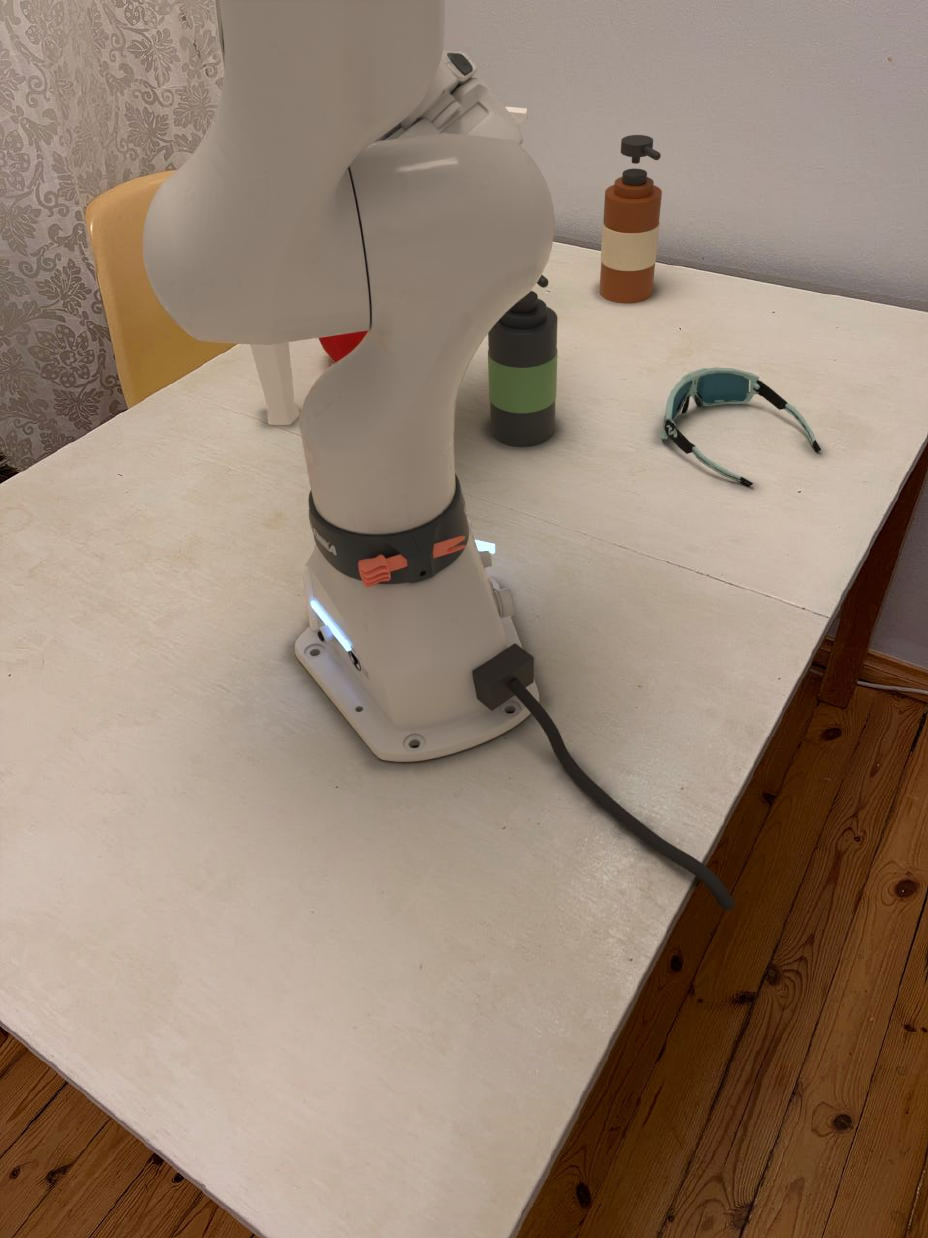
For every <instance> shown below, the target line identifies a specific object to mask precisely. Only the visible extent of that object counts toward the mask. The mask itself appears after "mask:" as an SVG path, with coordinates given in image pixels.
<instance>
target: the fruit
mask: <svg viewBox="0 0 928 1238" xmlns="http://www.w3.org/2000/svg"><path fill="white" fill-rule="evenodd" d="M368 331H369V330H368ZM368 331H361V332H354V333H347V334H341V335H334V336H327V337H320V338H318V341H319V343H320V345H321V347H322V349H323V350H324V351H325V353H326V354H327V355H328V356H329V358H330V359H331V360H332V361H333V362H334V363H336V362H338V361H339V360H341V359H342V358H344V357H345V356H346V355H348V354H349V353H350V352H351V351H353V350H354V349H355V348H356V347H357V346H358V345H359V343H360V342H361V341H362V340H363V338H364V337H365V335H366V334H367V332H368Z"/></svg>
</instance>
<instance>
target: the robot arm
mask: <svg viewBox="0 0 928 1238" xmlns="http://www.w3.org/2000/svg"><path fill="white" fill-rule="evenodd" d="M445 6H446V0H219V8H220V16H221V42H222V43H221V45H222V50H223V57H224V71H223V72H224V74H223V81H222V87H221V92H220V97H219V100H218V104H217V107H216V110H215V112H214V115H213V118H212V121H211V123H210V125H209V127H208V129H207V130H206V132H205V134H204V136H203V137H202V140H201V141H200V143H199V144H198V145H197V147H196V148H195V150H194V151H193V153H192V154H191V155H190V156H189V157H188V159H187V160H186V161H185V162H184V163H183V164H182V165H181V166H180V167H179V168H178V169H177V170H176V171H175V172H174V173H172V175H170V176H169V177H167V178H166V179H165V180H164V181H163V182H162V183H161V184H160V186H159V187H158V189H157V190H156V191H155V194H154V196H153V198H152V200H151V202H150V204H149V207H148V209H147V212H146V215H145V219H144V223H143V224H144V225H143V230H142V256H143V263H144V268H145V273H146V276H147V279H148V281H149V284H150V287H151V289H152V292H153V294H154V295H155V297H156V299H157V301H158V302H159V304H160V306H161V307H162V309H163V310H164V311H165V313H166V314H167V315H168V317H169V318H170V319H171V320H172V322H174V323H175V324H176V325H177V326H178V327H179V328H180V329H182V330H183V332H185V333H186V334H188V335H189V336H190V337H192V338H193V339H195V340H196V341H198V342H204V343H205V342H206V343H220V344H232V345H233V344H234V345H235V344H236V345H250V344H259V345H273V344H280V343H287V342H289V343H291V342H292V343H293V342H300V341H306V340H307V341H308V340H313V339H319V338H320V337H327V336H334V335H341V334H347V333H354V332H361V331H368V330H369V331H368V332H367V334H366V335H365V337H364V338H363V340H362V341H361V342H360V343H359V345H358V346H357V347H356V348H355V349H354V350H353V351H351V352H350V353H349V354H348V355H346V356H345V357H344V358H342V359H341V360H339V361H338V362H334V363H333V364H332V365H330V366H329V367H328V368H327V369H326V370H324V372H322V373H321V374H320V375H319V377H318V378H317V379H316V380H315V382H314V383H313V385H312V386H311V388H310V389H309V391H308V393H307V395H306V396H305V398H304V400H303V403H302V406H301V409H300V416H299V424H298V425H299V431H300V437H301V443H302V448H303V453H304V458H305V464H306V469H307V474H308V480H309V486H310V490H309V493H308V521H309V524H310V529H311V531H312V535H313V539H314V543H315V545H314V548H313V550H312V552H311V554H310V556H309V558H308V560H307V561H306V563H305V564H304V567H303V569H302V570H301V575H302V582H303V590H304V597H305V604H306V610H307V615H308V616H307V617H308V624H309V626H308V627H307V628H306V629H305V630H304V631H303V632H301V634H300V635H299V636H298V637H297V639H296V640H295V643H294V654H295V656H296V659H298V661H299V662H300V663H301V665H302V666H303V667H304V668H305V670H306V671H307V672H308V674H309V675H310V676H311V677H312V678H313V680H314V681H315V683H316V684H317V685H318V686H319V687H320V688H321V690H322V691H323V692H324V693H325V694H326V696H327V698H328V699H329V700H330V701H331V702H332V703H333V705H334V706H335V707H336V708H337V709H338V711H339V712H340V713H341V715H342V716H343V717H344V718H345V720H346V721H347V722H348V724H349V725H350V726H351V727H352V728H353V729H354V731H355V733H357V735H358V737H360V738H361V740H362V741H363V742H364V743H365V744H366V746H367V747H368V748H369V750H370V751H371V752H372V753H373V754H374V755H375V756H376V757H377V758H378V759H380V760H381V761H385V762H386V761H387V762H399V763H404V762H405V763H408V762H409V763H410V762H420V761H427V760H432V759H439V758H442V757H445V756H449V755H454V754H456V753H459V752H462V751H465V750H468V749H471V748H474V747H476V746H479V745H480V744H483V743H486V742H489V741H491V740H493V739H495V738H497V737H499V736H502V735H503V734H504V733H507V732H509V731H510V730H512V729H513V728H515V727H517V726H518V725H519V724H521V723H522V722H523V721H524V720H525V719H527V718H528V717H529V716H530V715H532V717H533V718H534V719H535V720H536V722H537V723H538V724H539V726H540V727H541V729H542V730H543V732H544V733H545V735H546V737H547V739H548V741H549V744H550V746H551V749H552V751H553V752H554V756H555V757H556V758H557V760H558V762H559V763H560V765H561V766H562V767H563V769H564V771H566V773H567V774H568V775H569V776H570V778H571V779H572V780H573V781H574V782H575V784H576V785H578V787H580V788H581V789H582V790H583V791H584V792H585V793H586V794H587V795H588V796H589V797H590V798H591V799H592V800H593V801H595V803H597V804H598V806H600V807H601V808H602V809H603V810H605V811H606V812H607V813H608V814H609V815H610V816H611V817H613V818H614V820H616V821H617V822H618V823H619V824H621V825H622V826H623V827H625V828H626V829H627V830H628V831H629V832H631V833H633V835H635V836H636V837H637V838H638V839H639V840H641V841H642V842H643V843H644V844H646V845H647V846H649V848H651V849H652V850H654V851H655V852H657V854H659V855H661V856H662V857H664V858H666V859H668V860H669V861H671V862H673V863H674V864H676V865H677V866H679V867H681V868H682V869H685V870H686V871H687V872H689V873H691V874H692V875H693V876H694V877H696V878H697V879H698V880H699V881H700V882H702V883H703V884H704V885H705V887H706V888H707V889H708V890H709V892H710V893H711V894H712V896H713V897H714V898H715V901H716V903H717V904H718V905H719V906H720V907H721V908H722V909H723V910H725V911H726V910H727V911H732V910H734V908H735V902H734V900H733V898H732V896H731V894H730V892H729V891H728V889H727V888H726V886H725V885H724V883H723V882H722V881H721V879H719V877H718V876H717V875H716V874H715V873H714V872H713V871H712V870H711V869H710V868H709V867H707V866H706V865H705V864H704V863H703V862H702V861H699V860H698V859H697V858H695V857H694V856H692V855H690V854H688V853H687V852H685V851H683V850H682V849H680V848H678V847H676V846H675V845H673V844H671V843H669V842H668V841H667V840H665V839H664V838H662V837H661V836H660V835H658V834H657V833H656V832H654V831H653V830H652V829H651V828H650V827H648V826H647V825H645V824H644V823H643V822H641V820H639V819H638V818H636V817H635V816H634V815H633V814H631V813H630V812H628V811H627V809H625V808H624V807H623V806H622V805H620V804H619V803H618V802H617V801H616V800H614V798H613V797H612V796H610V795H609V794H608V793H607V792H606V791H605V790H603V789H602V788H601V787H600V786H599V785H598V784H597V783H596V782H595V781H594V780H593V779H591V777H589V776H588V775H587V773H586V772H585V771H584V770H583V769H582V768H581V767H580V765H579V764H578V763H577V762H576V761H575V759H574V758H573V756H572V754H571V753H570V752H569V750H568V748H567V746H566V744H565V742H564V739H563V738H562V735H561V733H560V730H559V729H558V727H557V725H556V723H555V722H554V720H553V718H552V717H551V716H550V715H549V713H548V712H547V711H546V710H545V708H544V707H543V706H542V705H541V703H540V694H539V690H538V687H537V683H536V681H535V678H534V677H535V657H534V656H533V655H532V654H531V653H529V652H528V651H526V650H525V649H524V648H523V645H522V643H521V641H520V638H519V635H518V633H517V630H516V626H515V624H514V621H513V618H512V617H513V616H515V614H516V606H515V600H514V597H513V593H512V591H511V589H510V588H507V587H506V588H501V587H500V584H499V583H498V581H497V580H495V579H493V578H491V577H488V575H487V572H486V570H485V569H487V568H491V567H492V565H493V560H492V554H495V553H496V543H491V542H487V541H483V540H479V539H475V535H474V533H473V521H472V519H471V518H468V513H467V512H468V511H467V505H466V500H465V497H464V493H463V491H462V487H461V483H460V480H459V477H458V476H457V473H456V467H455V466H456V465H455V429H456V428H455V425H456V408H457V401H458V396H459V393H460V389H461V386H462V383H463V379H464V377H465V374H466V372H467V371H468V368H469V366H470V364H471V361H472V360H473V358H474V357H475V354H476V352H477V351H478V349H479V348H480V346H481V345H482V343H483V342H484V340H485V338H486V337H487V336H488V333H489V331H490V330H491V329H492V327H493V326H494V325H495V324H496V323H497V321H498V320H499V319H500V318H501V317H502V316H503V315H504V314H505V313H506V312H507V311H508V310H509V309H510V308H511V307H512V306H514V305H515V304H516V303H517V302H518V301H519V300H521V299H522V298H523V297H524V296H526V295H527V294H528V293H529V292H530V291H532V290H533V289H534V288H535V286H536V285H537V282H538V280H539V278H540V277H541V275H543V274H544V271H545V269H546V267H547V264H548V262H549V259H550V255H551V252H552V249H553V243H554V237H555V211H554V205H553V199H552V194H551V191H550V189H549V186H548V183H547V180H546V179H545V177H544V175H543V173H542V171H541V169H540V167H539V166H538V164H537V163H536V162H535V160H534V159H533V158H532V156H531V155H530V154H529V152H527V150H525V149H524V148H523V147H522V146H521V145H522V144H523V143H524V137H523V134H522V131H521V128H520V125H519V123H516V121H515V120H514V118H513V117H512V116H511V114H510V113H509V112H508V110H507V109H506V108H505V107H506V106H505V105H504V104H503V102H502V101H501V100H500V98H499V97H498V96H497V94H496V93H495V92H494V90H493V89H491V87H490V86H489V85H488V84H487V83H486V82H485V81H483V80H482V79H480V78H478V77H474V75H476V73H477V70H478V67H477V65H476V63H475V62H474V61H473V60H472V59H471V57H470V56H469V55H468V54H467V53H466V52H463V51H449V50H444V49H445V48H444V47H445V21H446V19H445V15H446V14H445V13H446V12H445V11H446V10H445V9H446V7H445ZM509 712H510V713H509ZM415 746H418V747H415Z"/></svg>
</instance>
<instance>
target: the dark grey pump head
mask: <svg viewBox="0 0 928 1238" xmlns="http://www.w3.org/2000/svg"><path fill="white" fill-rule="evenodd" d="M653 148H654V138H653V137H652V136H648V135H644V134H630V135H626V136H623V137H622V138H621V139H620V154H621V155H622V156H624V157H628V158H631V163H632V164H635V165H636V164H638V165H639V164H640V162H641V158H644V157H649V158H651V159H652V160H654V161H659V160H660V159H661V157H662V155H661V153H660V152H659V151H657V150H656V149H653Z"/></svg>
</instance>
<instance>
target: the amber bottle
mask: <svg viewBox="0 0 928 1238" xmlns="http://www.w3.org/2000/svg"><path fill="white" fill-rule="evenodd" d="M613 183H614V184H612V185H610V186H608V187H607V188H606V189H605V191H604V204H603V221H602V227H601V229H602V230H601V248H600V272H599V273H600V274H599V275H600V276H599V295H600V296H601V297H602V298H603V299H604V300H606V301H609V302H613V303H618V304H637V303H641V302H644V301H646V300H648V299H650V298H651V296H652V295H653V292H654V291H653V290H654V280H655V279H654V278H655V270H656V269H655V268H656V262H657V254H658V246H659V245H658V244H659V233H660V224H661V223H660V217H661V206H662V196H663V191H662V189H661V188H660V187H659V186H658V185H655V182H654V180H653V179H652V178H651V177H649V176H648V171H646V170H645V169H642V168H627V169H625V170H623V171H622V174H621V176H620V177H618V178H616V179H615V180H614V182H613Z"/></svg>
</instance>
